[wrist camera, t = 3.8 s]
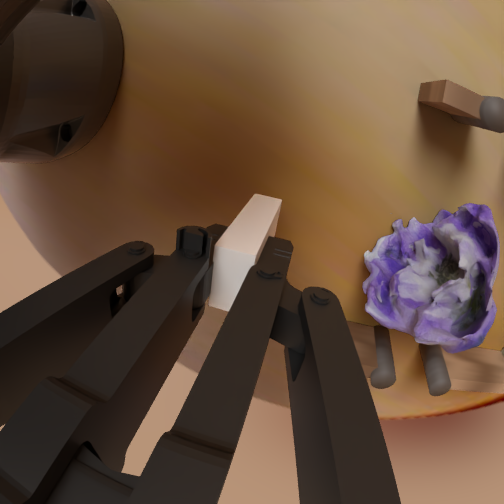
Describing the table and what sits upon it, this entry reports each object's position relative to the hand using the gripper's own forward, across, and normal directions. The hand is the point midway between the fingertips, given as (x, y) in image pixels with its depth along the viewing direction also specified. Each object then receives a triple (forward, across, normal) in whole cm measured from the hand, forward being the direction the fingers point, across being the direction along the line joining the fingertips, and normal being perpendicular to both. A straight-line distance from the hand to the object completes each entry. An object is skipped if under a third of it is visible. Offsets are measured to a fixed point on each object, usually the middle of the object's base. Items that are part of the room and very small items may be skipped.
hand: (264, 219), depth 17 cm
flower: (+4, +12, -1) cm, 13 cm away
